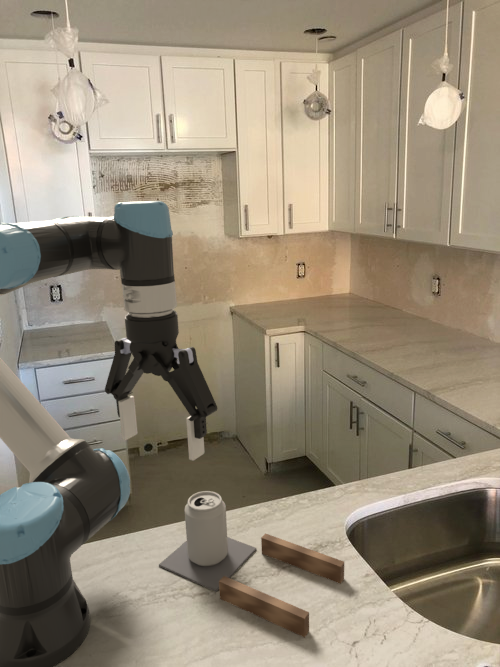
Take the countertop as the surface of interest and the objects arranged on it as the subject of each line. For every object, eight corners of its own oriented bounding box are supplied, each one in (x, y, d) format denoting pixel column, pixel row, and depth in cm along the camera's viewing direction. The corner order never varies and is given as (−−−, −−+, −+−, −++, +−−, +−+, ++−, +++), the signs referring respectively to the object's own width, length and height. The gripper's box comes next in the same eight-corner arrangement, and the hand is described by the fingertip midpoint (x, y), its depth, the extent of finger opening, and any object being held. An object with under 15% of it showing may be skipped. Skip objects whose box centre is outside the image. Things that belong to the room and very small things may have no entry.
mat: (159, 566, 100) (158, 564, 100) (202, 529, 111) (202, 527, 110) (216, 591, 93) (216, 590, 93) (256, 549, 104) (256, 547, 104)
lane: (219, 598, 92) (218, 581, 91) (265, 549, 104) (265, 533, 103) (304, 637, 83) (304, 618, 82) (344, 578, 95) (344, 561, 94)
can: (194, 541, 106) (191, 486, 103) (232, 545, 105) (229, 489, 101) (182, 567, 99) (178, 508, 96) (222, 571, 98) (219, 512, 94)
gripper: (71, 308, 82) (87, 438, 87) (204, 326, 69) (212, 477, 74) (109, 299, 88) (121, 421, 93) (237, 314, 75) (243, 454, 80)
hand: (162, 446), depth 84 cm, fingers open, 13 cm apart
